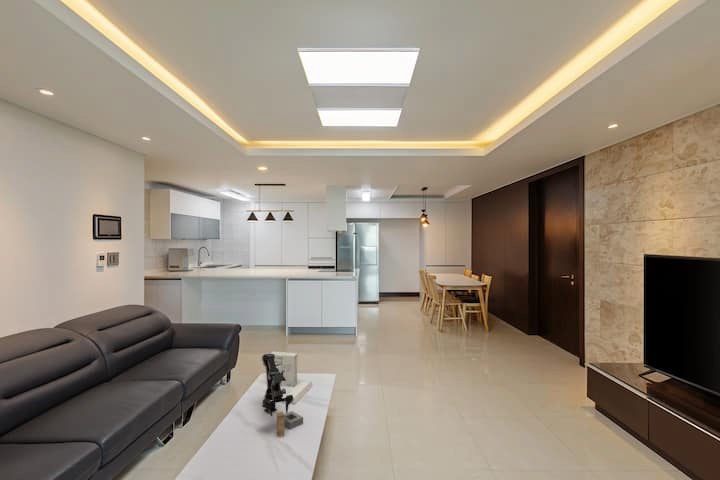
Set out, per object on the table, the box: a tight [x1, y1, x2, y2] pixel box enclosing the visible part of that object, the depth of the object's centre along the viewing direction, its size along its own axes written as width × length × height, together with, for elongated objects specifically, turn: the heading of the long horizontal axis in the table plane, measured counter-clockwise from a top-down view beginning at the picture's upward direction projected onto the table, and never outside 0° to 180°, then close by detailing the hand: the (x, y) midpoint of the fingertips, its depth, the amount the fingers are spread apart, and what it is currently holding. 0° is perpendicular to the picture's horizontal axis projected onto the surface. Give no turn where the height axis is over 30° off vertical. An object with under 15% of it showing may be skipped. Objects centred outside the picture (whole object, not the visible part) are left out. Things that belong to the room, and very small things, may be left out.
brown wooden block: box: [276, 411, 285, 438], centre depth 211 cm, size 5×4×12 cm
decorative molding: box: [281, 380, 313, 405], centre depth 268 cm, size 34×5×10 cm
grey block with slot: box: [284, 410, 304, 430], centre depth 225 cm, size 12×10×4 cm
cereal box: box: [269, 351, 298, 388], centre depth 287 cm, size 22×8×25 cm, turn 81°
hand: (279, 414), depth 214 cm, fingers open, 9 cm apart
